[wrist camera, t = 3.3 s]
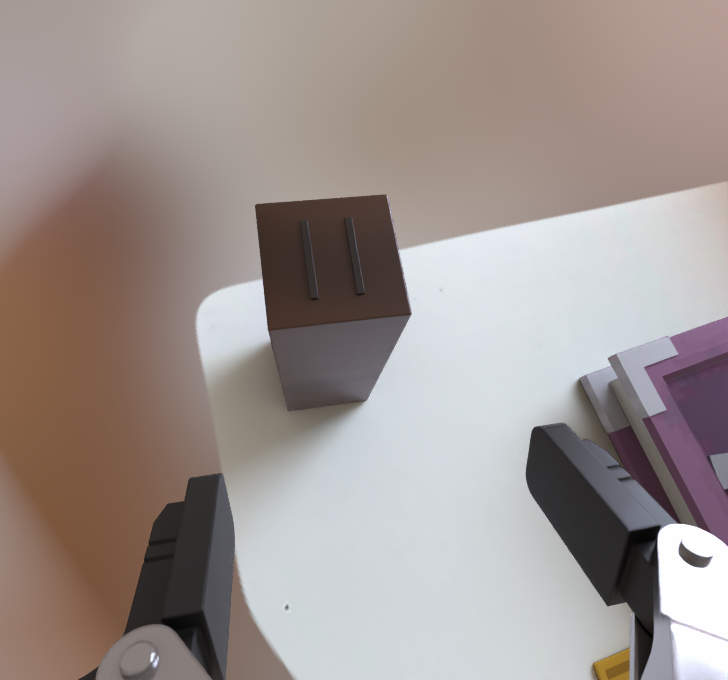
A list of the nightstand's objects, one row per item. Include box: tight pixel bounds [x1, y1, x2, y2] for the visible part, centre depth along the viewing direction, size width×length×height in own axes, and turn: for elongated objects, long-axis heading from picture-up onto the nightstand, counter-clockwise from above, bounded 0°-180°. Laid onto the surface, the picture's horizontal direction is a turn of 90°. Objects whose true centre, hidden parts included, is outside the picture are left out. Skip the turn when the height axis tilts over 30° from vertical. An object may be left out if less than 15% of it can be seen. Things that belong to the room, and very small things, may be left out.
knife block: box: [255, 195, 412, 411], centre depth 26 cm, size 6×6×16 cm
